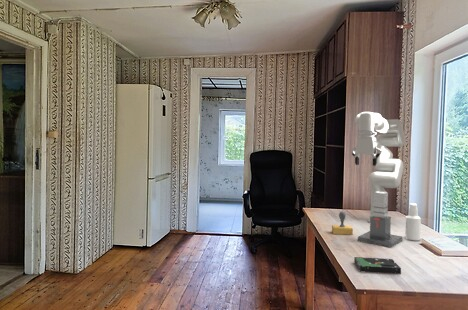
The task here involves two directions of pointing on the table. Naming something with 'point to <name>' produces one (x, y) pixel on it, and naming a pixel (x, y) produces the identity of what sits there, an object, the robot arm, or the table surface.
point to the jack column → (380, 204)
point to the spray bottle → (413, 223)
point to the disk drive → (377, 265)
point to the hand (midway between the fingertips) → (365, 165)
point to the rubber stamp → (342, 226)
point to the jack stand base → (380, 233)
